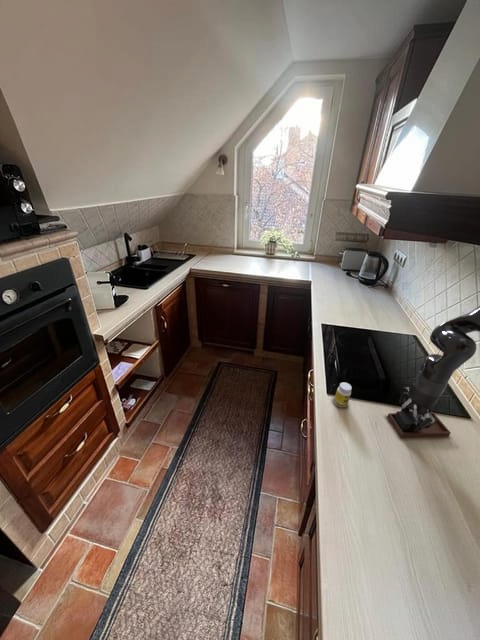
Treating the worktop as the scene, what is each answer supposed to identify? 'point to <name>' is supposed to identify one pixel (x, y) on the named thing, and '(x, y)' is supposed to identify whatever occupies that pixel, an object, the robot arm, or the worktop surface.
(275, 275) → the worktop surface
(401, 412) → the black block
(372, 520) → the worktop surface
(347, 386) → the supplement bottle
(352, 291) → the worktop surface
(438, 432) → the pad frame
